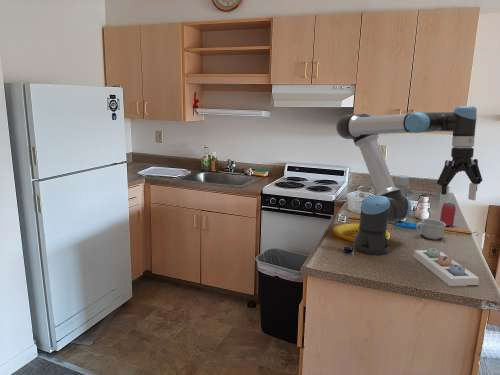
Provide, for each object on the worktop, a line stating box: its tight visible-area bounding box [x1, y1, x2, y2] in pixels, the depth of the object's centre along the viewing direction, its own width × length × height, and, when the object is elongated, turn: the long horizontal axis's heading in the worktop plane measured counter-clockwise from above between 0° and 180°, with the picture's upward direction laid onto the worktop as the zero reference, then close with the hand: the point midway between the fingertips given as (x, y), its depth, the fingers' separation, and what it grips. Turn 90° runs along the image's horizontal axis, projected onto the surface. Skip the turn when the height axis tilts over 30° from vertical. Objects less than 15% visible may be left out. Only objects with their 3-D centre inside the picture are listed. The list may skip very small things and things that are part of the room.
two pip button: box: [449, 264, 466, 276], centre depth 145 cm, size 5×5×3 cm
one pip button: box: [426, 247, 440, 258], centre depth 160 cm, size 5×5×3 cm
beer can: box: [439, 202, 456, 227], centre depth 207 cm, size 7×7×12 cm
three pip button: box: [437, 255, 453, 267], centre depth 153 cm, size 5×5×3 cm
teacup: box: [415, 218, 446, 240], centre depth 189 cm, size 14×11×8 cm
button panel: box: [413, 249, 480, 287], centre depth 153 cm, size 11×26×3 cm, turn 6°
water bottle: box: [394, 174, 411, 221], centre depth 211 cm, size 9×8×25 cm
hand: (458, 201), depth 152 cm, fingers open, 13 cm apart
